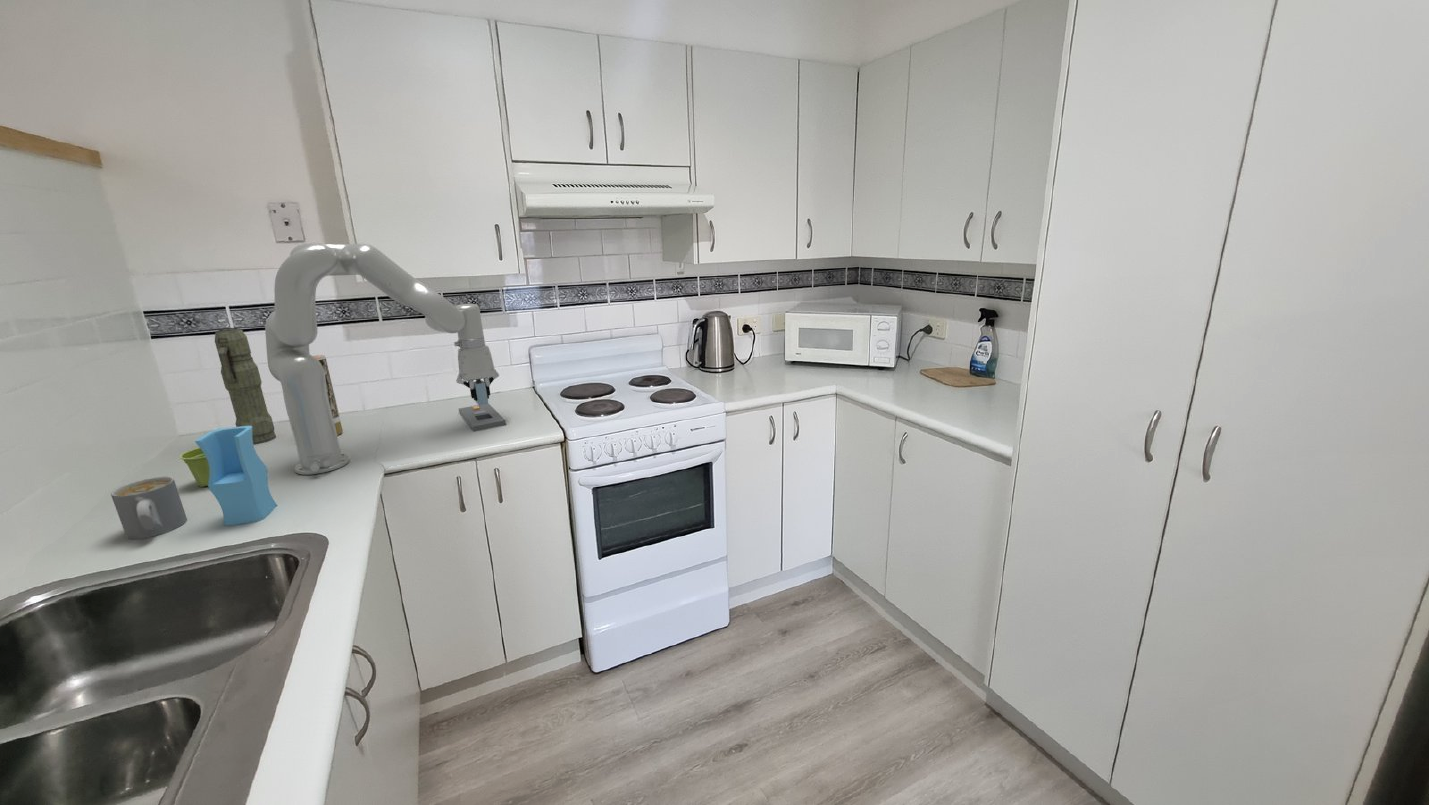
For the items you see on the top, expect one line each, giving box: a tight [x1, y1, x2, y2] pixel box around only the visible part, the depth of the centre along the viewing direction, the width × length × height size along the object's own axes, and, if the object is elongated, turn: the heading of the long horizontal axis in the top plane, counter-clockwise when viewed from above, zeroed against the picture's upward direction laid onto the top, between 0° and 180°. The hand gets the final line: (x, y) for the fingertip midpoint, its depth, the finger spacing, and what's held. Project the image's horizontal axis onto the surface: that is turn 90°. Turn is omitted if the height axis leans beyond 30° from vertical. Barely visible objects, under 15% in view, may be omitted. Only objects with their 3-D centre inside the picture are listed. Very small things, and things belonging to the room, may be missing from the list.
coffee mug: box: [110, 476, 188, 540], centre depth 125 cm, size 13×10×10 cm
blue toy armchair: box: [194, 426, 278, 527], centre depth 129 cm, size 8×8×20 cm
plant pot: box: [179, 447, 209, 488], centre depth 150 cm, size 9×9×9 cm
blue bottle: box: [474, 379, 489, 405], centre depth 189 cm, size 4×3×8 cm
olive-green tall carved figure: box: [214, 327, 277, 445], centre depth 177 cm, size 9×12×35 cm
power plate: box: [458, 402, 507, 432], centre depth 195 cm, size 24×10×2 cm, turn 33°
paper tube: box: [312, 354, 343, 436], centre depth 181 cm, size 7×7×25 cm
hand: (481, 398), depth 190 cm, fingers closed on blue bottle, 3 cm apart
